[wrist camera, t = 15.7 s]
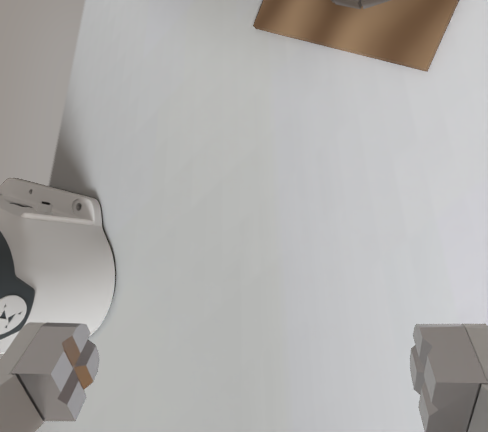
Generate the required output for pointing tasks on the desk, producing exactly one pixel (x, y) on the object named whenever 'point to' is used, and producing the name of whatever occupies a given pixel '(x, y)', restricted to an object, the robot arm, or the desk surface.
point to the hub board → (364, 26)
